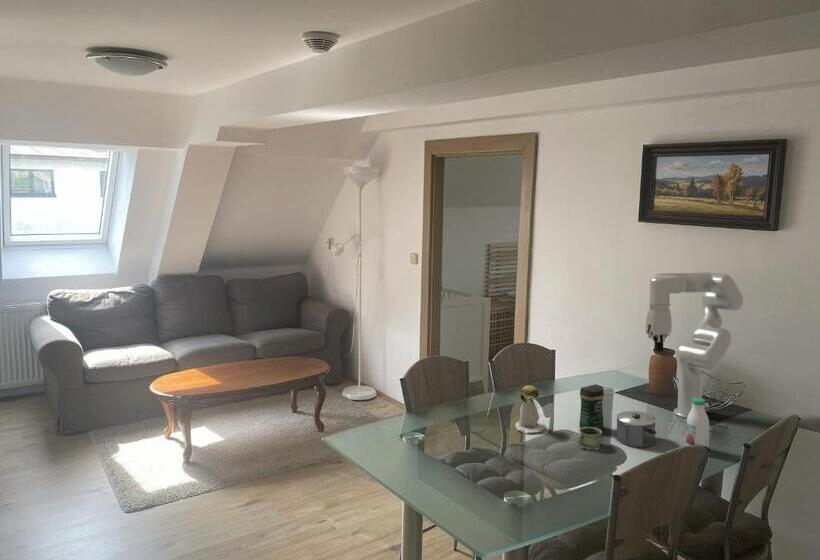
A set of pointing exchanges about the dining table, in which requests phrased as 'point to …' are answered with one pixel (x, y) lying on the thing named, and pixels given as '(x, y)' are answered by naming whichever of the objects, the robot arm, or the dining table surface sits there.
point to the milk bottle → (697, 424)
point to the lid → (636, 418)
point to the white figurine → (529, 411)
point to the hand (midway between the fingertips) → (658, 350)
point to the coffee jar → (591, 406)
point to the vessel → (590, 437)
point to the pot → (636, 435)
